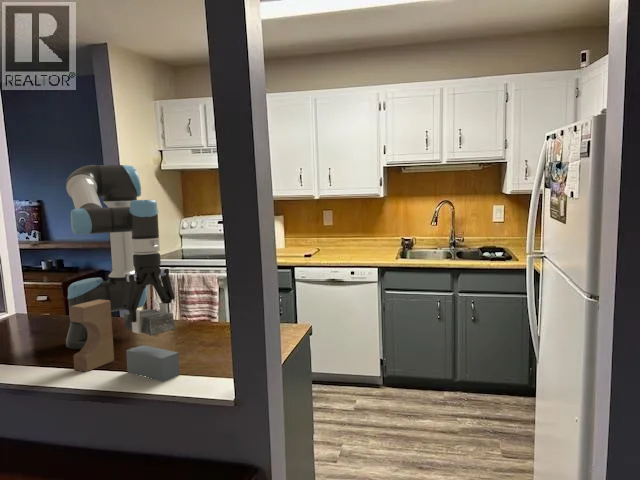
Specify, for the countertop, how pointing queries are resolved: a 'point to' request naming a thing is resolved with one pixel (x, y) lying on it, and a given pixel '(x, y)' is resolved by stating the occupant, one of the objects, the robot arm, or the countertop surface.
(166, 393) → the countertop surface
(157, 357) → the block
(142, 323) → the stone block
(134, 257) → the robot arm
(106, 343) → the decorative block
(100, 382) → the countertop surface
